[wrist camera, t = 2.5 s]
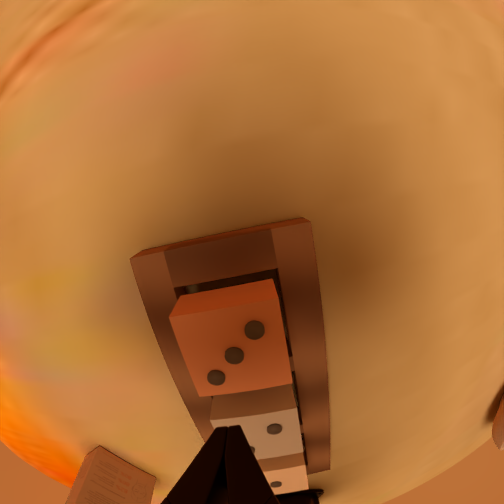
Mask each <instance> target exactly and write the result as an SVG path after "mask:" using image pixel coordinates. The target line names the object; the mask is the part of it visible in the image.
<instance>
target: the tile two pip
mask: <svg viewBox="0 0 504 504" xmlns="http://www.w3.org/2000/svg"><path fill="white" fill-rule="evenodd" d="M210 421H211V423H212V426H213V428H214V429H215V428H216V427H221V426H228V427H229V426H232V425H240V426H241V427H242V430H243V432H244V434H245V436H246V438H247V440H248V443H249V445H250V447H251V449H252V451H253V453H254V455H255V457H256V459H257V460H258V459H266V458H273V457H279V456H285V455H291V454H296V453H301V452H303V445H302V438H301V432H300V425H299V418H298V412H297V406H296V402H295V398H294V393H293V389H292V385H291V384H286V385H281V386H276V387H270V388H264V389H258V390H252V391H245V392H238V393H231V394H223V395H213V400H212V408H211V416H210Z"/></svg>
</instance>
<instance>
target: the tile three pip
mask: <svg viewBox="0 0 504 504" xmlns="http://www.w3.org/2000/svg"><path fill="white" fill-rule="evenodd" d="M169 319H170V322H171V325H172V328H173V331H174V334H175V337H176V339H177V342H178V345H179V348H180V350H181V353H182V355H183V358H184V361H185V363H186V366H187V368H188V371H189V373H190V376H191V378H192V381H193V383H194V385H195V388H196V390H197V393H198V395H199V397H203V396H213V395H223V394H231V393H238V392H245V391H252V390H258V389H264V388H270V387H276V386H281V385H286V384H291V383H293V381H292V374H291V368H290V362H289V356H288V350H287V344H286V338H285V333H284V327H283V321H282V315H281V310H280V304H279V298H278V295H277V291H276V288H275V285H274V282H273V278H272V279H267V280H262V281H257V282H252V283H247V284H242V285H236V286H231V287H226V288H220V289H215V290H210V291H204V292H198V293H193V294H187V295H181V296H180V297H179V299H178V301H177V303H176V305H175V306H174V308H173V310H172V312H171V314H170V316H169Z"/></svg>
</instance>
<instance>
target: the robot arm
mask: <svg viewBox="0 0 504 504" xmlns="http://www.w3.org/2000/svg"><path fill="white" fill-rule="evenodd" d="M323 493H324V492H323V490H301V491H295V492H290V493H283V494H276V495H275V494H274V492H273V490H272V489H271V487H270V485H269V483H268V481H267V479H266V477H265V475H264V473H263V471H262V469H261V467H260V465H259V463H258V461H257V459H256V457H255V455H254V453H253V451H252V449H251V447H250V445H249V443H248V440H247V438H246V436H245V434H244V432H243V430H242V427H241V426H240V425H232V426H229V427H228V426H221V427H216V428H215V429H214V431H213V432H212V434H211V435H210V437H209V438H208V440H207V441H206V443H205V444H204V445H203V447H202V448H201V450H200V451H199V453H198V454H197V455H196V457H195V458H194V460H193V461H192V463H191V464H190V465H189V467H188V468H187V470H186V471H185V472H184V474H183V475H182V476H181V478H180V479H179V480H178V482H177V483H176V484H175V486H174V487H173V488H172V490H171V491H170V492H169V494H168V495H167V497H166V498H165V499H164V500H163V501H162V503H161V504H319V499H318V498H319V497H320V496H321V495H322V494H323Z"/></svg>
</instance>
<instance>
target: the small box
mask: <svg viewBox="0 0 504 504" xmlns="http://www.w3.org/2000/svg"><path fill="white" fill-rule="evenodd" d="M155 481H156V478H155V477H154V476H152V475H150V474H148V473H146V472H144V471H142V470H140V469H138V468H136V467H134V466H133V465H131V464H129V463H127V462H125V461H124V460H122V459H120V458H118V457H117V456H115V455H114V454H112V453H110V452H109V451H107V450H105V449H104V448H102V447H101V446H99V447H98V448H96V449H95V450H94V451H92V452H91V453H89V454H88V455H87V456H86V457H85V459H84V461H83V463H82V465H81V468H80V470H79V472H78V474H77V477H76V479H75V481H74V484H73V486H72V489H71V491H70V494H69V496H68V498H67V501H66V503H65V504H151V499H152V494H153V490H154V485H155Z"/></svg>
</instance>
